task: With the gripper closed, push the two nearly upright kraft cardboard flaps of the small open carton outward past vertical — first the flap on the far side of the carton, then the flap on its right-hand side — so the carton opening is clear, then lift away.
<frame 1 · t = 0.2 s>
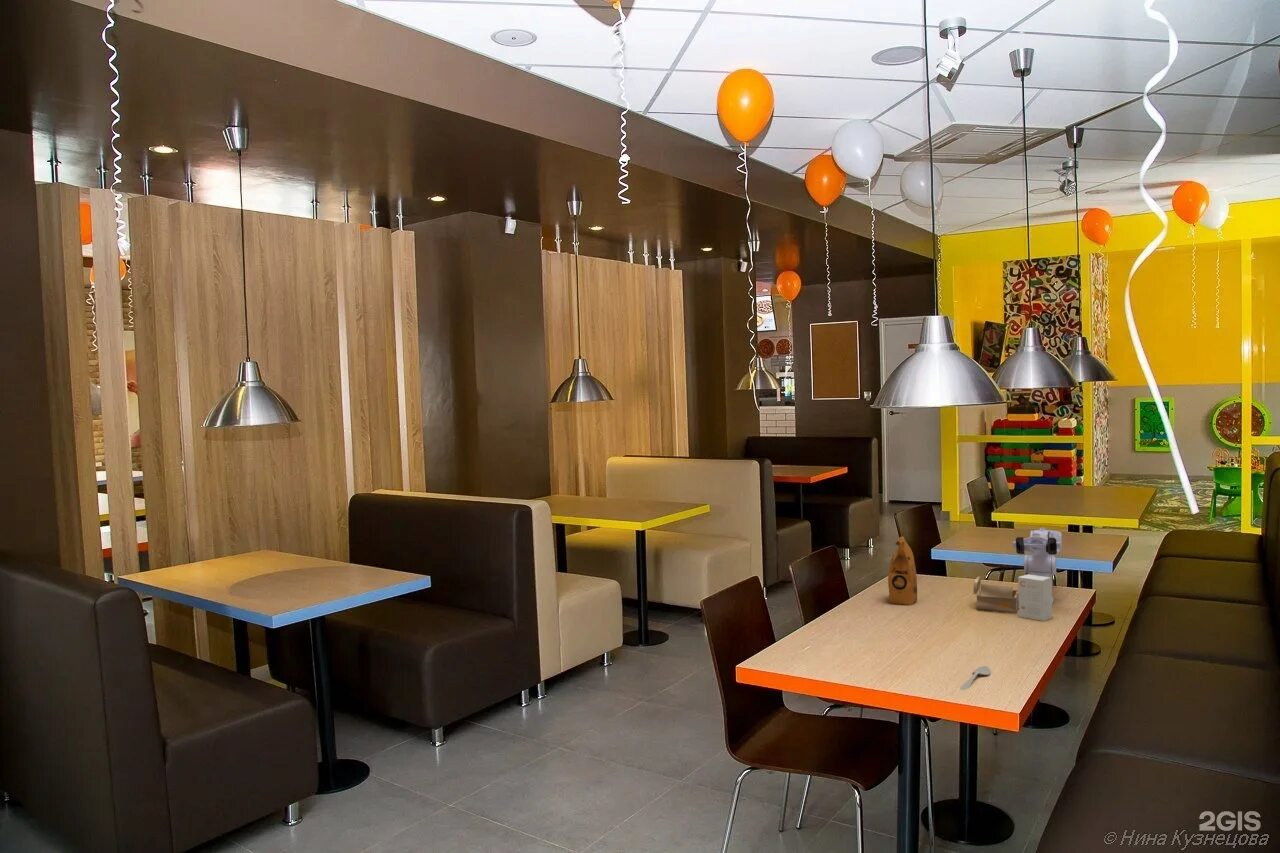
hand: (1034, 548, 282), 21 cm above the table, tool horizontal, fingers open, 7 cm apart
spoon: (972, 683, 220), on the table
front flap: (996, 591, 286), point 7 cm above the table, hinge at 85.0°
carton: (998, 607, 292), on the table
side flap: (977, 585, 295), point 7 cm above the table, hinge at 85.0°
coffee package: (902, 601, 305), on the table
small box: (1035, 618, 279), on the table
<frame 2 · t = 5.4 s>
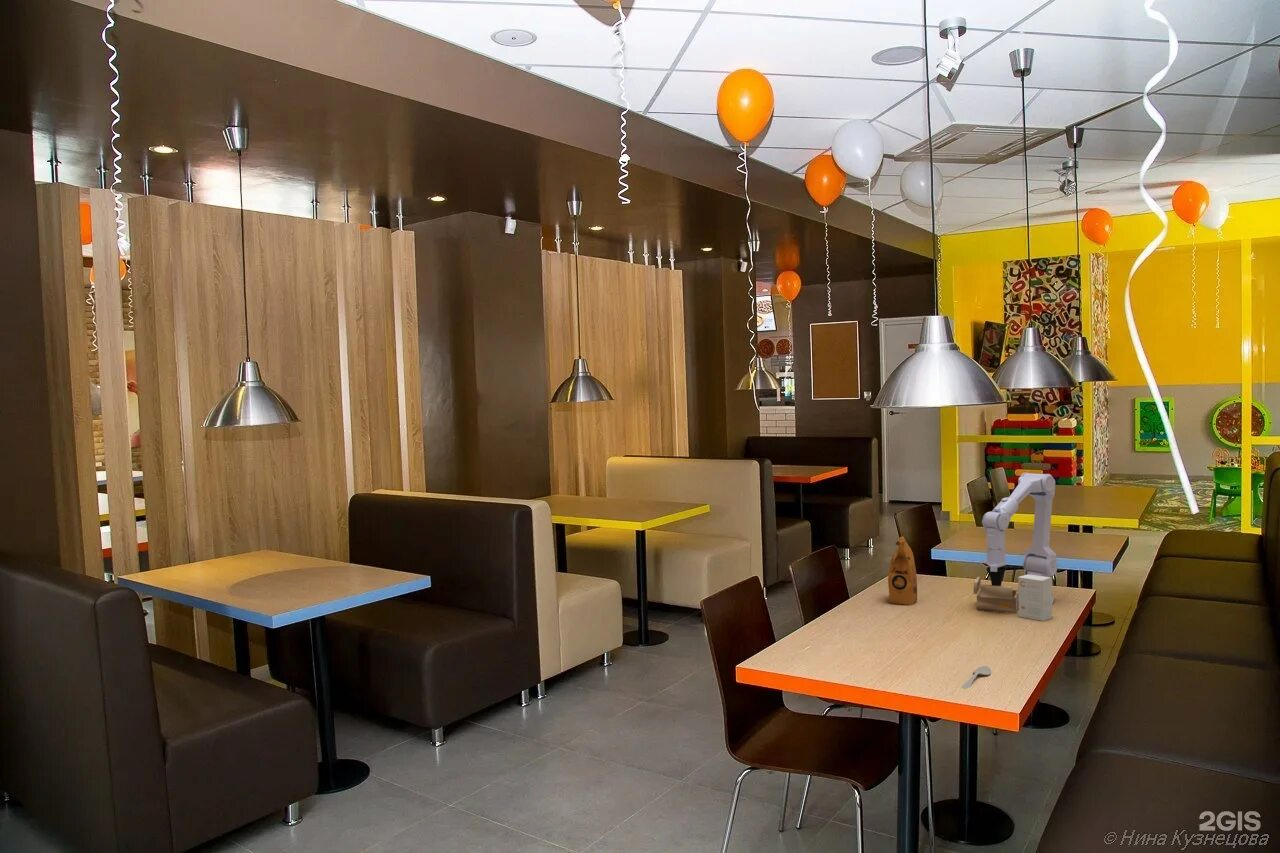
hand: (996, 589, 287), 7 cm above the table, tool pointing down, fingers closed
front flap: (996, 591, 286), point 7 cm above the table, hinge at 99.4°, touching gripper
everything else where it was.
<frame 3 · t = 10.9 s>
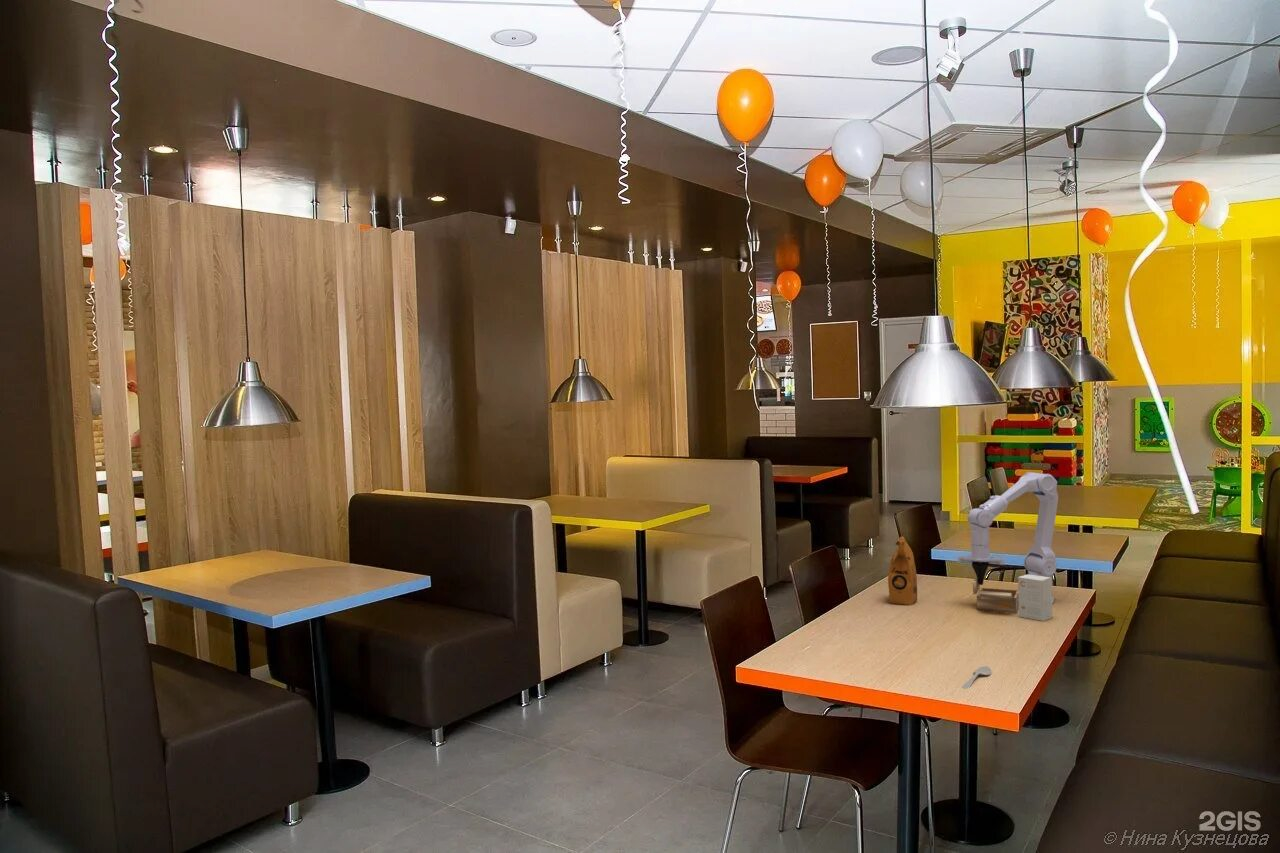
hand: (980, 584, 295), 7 cm above the table, tool pointing down, fingers closed
front flap: (995, 595, 285), point 6 cm above the table, hinge at 143.2°
side flap: (976, 585, 295), point 7 cm above the table, hinge at 92.1°, touching gripper
everything else where it was.
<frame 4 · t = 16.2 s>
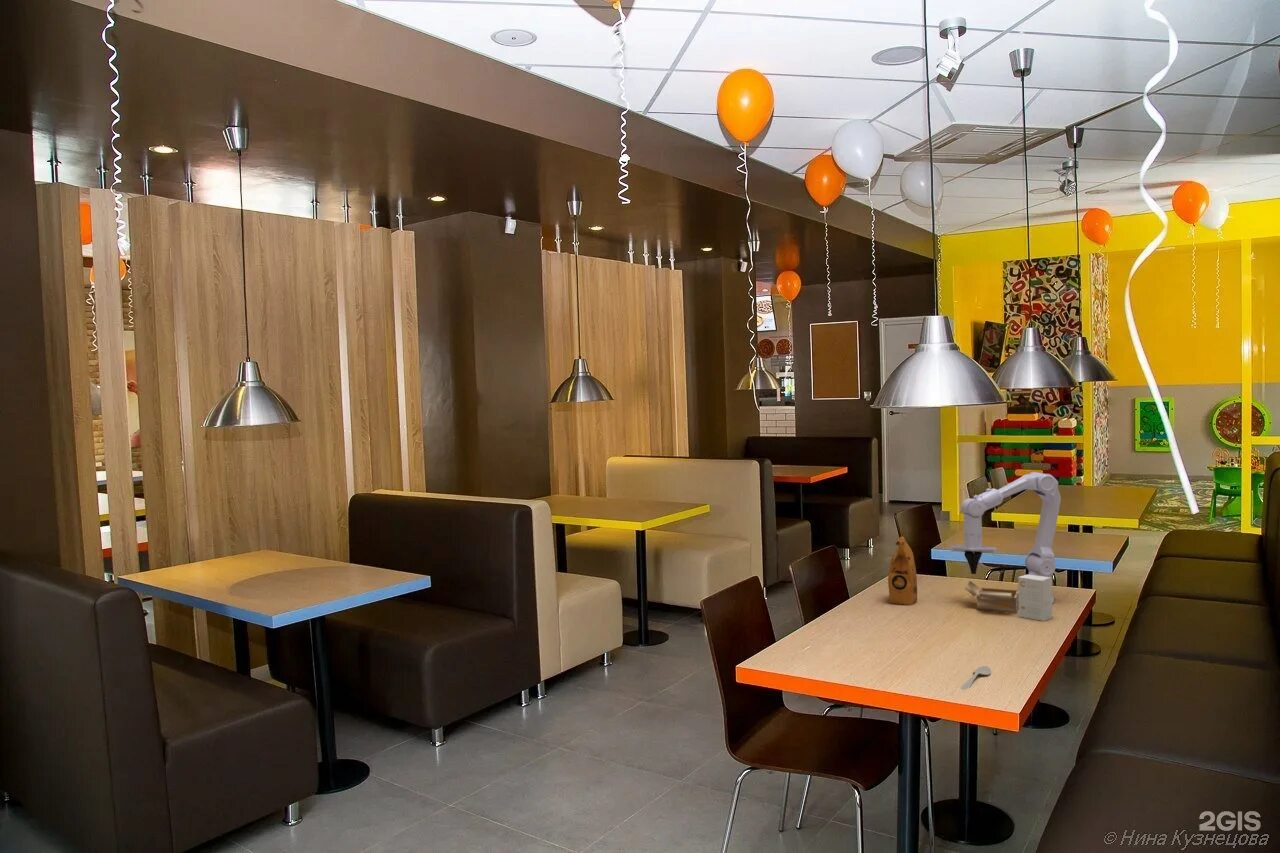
hand: (973, 573, 298), 10 cm above the table, tool pointing down, fingers closed
side flap: (972, 588, 296), point 6 cm above the table, hinge at 143.0°
everything else where it was.
at the end: front flap at +143° (first picture: +85°); side flap at +143° (first picture: +85°) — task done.
